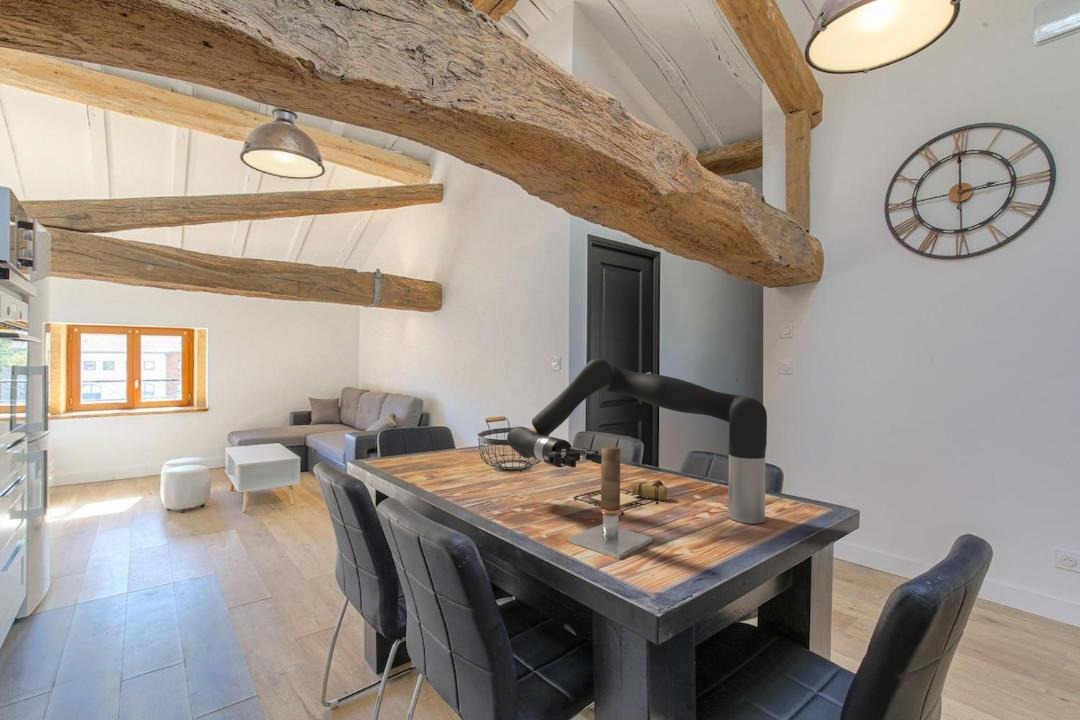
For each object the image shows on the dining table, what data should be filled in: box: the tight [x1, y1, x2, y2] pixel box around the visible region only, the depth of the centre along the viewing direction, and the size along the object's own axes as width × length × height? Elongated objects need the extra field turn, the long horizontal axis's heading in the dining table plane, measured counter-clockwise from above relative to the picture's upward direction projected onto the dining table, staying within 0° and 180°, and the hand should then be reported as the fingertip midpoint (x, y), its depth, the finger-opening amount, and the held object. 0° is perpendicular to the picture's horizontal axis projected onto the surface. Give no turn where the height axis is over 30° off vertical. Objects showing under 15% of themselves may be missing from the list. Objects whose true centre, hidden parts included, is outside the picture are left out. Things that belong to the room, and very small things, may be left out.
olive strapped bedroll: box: [631, 479, 668, 502], centre depth 159 cm, size 21×5×10 cm
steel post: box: [568, 505, 653, 560], centre depth 114 cm, size 14×14×8 cm
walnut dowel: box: [600, 446, 621, 511], centre depth 114 cm, size 4×4×14 cm
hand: (588, 461), depth 121 cm, fingers open, 8 cm apart
